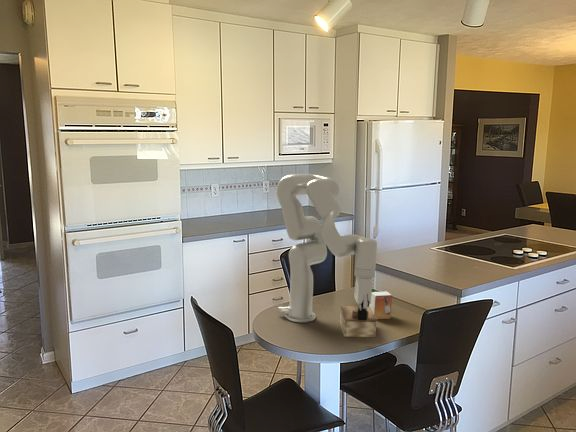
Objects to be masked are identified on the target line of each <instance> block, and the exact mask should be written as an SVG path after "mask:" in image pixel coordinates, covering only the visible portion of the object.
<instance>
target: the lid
mask: <svg viewBox="0 0 576 432" xmlns="http://www.w3.org/2000/svg"><path fill="white" fill-rule="evenodd" d="M358 309H359V308H358V306H349V305H348V306H346V305H345V306H343V305H341V306H340V311H342V314H343V317H344V320H345V321H360V320H358ZM377 320H378V319H376V317H375V316H374V314H373V312H372V310H371V308H370V307H369V306H368V307H367V320H366V321H376V322H377Z"/></svg>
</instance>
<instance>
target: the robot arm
mask: <svg viewBox="0 0 576 432" xmlns="http://www.w3.org/2000/svg"><path fill="white" fill-rule="evenodd" d="M339 192H340V187H339V184H338V183H337V181H336V180H335V179H333V178H331V177H327V176H323V175H318V174H312V173H298V174H297V173H296V174H295V173H293V174H287V175H285V176H283V177H282V178H281V179H280V180H279V182H278V184H277V186H276V195H277V199H278V202H279V205H280V208H281V211H282V216H283V220H284V225H285V230H286V234H287V236H288V239H290V240H291V241H295V242H296V241H303V240H306V241H305V242H300V243H297V244H295V245H293V246H292V247H291V248H290V250H289V251H288V263H289V270H290V280H289V281H290V282H289V283H290V284H289V287H290V288H289V304H288V306H278V312H281V314H285V319H287V320H288V321H291V322H295V323H309V322H312V321H314V320H316V317H317V316H316V314H315V312H313V297H314V295H313V294H314V273H313V270H312V268H311V266H312V265H317V264H321V263H323V262H325V260H326V258H327V256H328V249H329V251H330V253H331V254H332V255H333V256H335V257H338V258H343V257H347V256H353V255H355V257H354V258H355V260H354V274H353V275H354V277H355V283H354V293H353V294H354V295H353V296H354V299H355V302H356V304H357V305H358V306H357V307H358V308H359V309H358V320H360V321H366V320H367V306H368V304H371V295H372V289H373V279H374V278H376V267H377V266H376V265H377V252H378V251H377V250H378V248H377V247H378V244H377V241H376V239H374V238H371V237H363V236H361V235H359V234H356V233H353V234H345V235H341V234H340V233H339V231H338V229H337V227H336V223H335V221H336V220H335V219H336V218H337V217H338V216H339V215H340V213H341V211H342V208H341V206H340V204H339V203H338V201H337V199H336V198H337V197H338V195H339ZM302 195H307V196H308V198H309V200H310V202H311V203H312V205H313V207H314V208H315V210H316V212H317V213H318V215H319V217H320V219H321V222H320V221H319V219H318V218H316V217H315V216H313V215H307V216H305V213H304V209H303V208H304V207H303V205H302V203H301V201H300V200H299V199H298V198H297V196H302ZM368 307H369V306H368Z"/></svg>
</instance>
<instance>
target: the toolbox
mask: <svg viewBox="0 0 576 432" xmlns="http://www.w3.org/2000/svg"><path fill="white" fill-rule="evenodd" d="M339 312H340V314H339V316H340V317H339V324H340V328H341V330H342V331H341V332H342V334H343V337H347V338H348V337H352V338H354V337H356V338H376V336H377V334H376V332H377V320H376V321H345V320H344V317H343V314H342V311H341V310H340V311H339Z"/></svg>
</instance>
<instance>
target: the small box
mask: <svg viewBox="0 0 576 432" xmlns="http://www.w3.org/2000/svg"><path fill="white" fill-rule="evenodd" d="M392 301H393V294H391V293H390V292H388V291H375V292H372V295H371V304H369V306H368V307H370V308H371V310H372V312H373V314H374V316H375V317H376V319H377V320H390V319H392V318H391V316H392V315H391V314H392V306H393V305H392V303H393V302H392Z"/></svg>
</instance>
